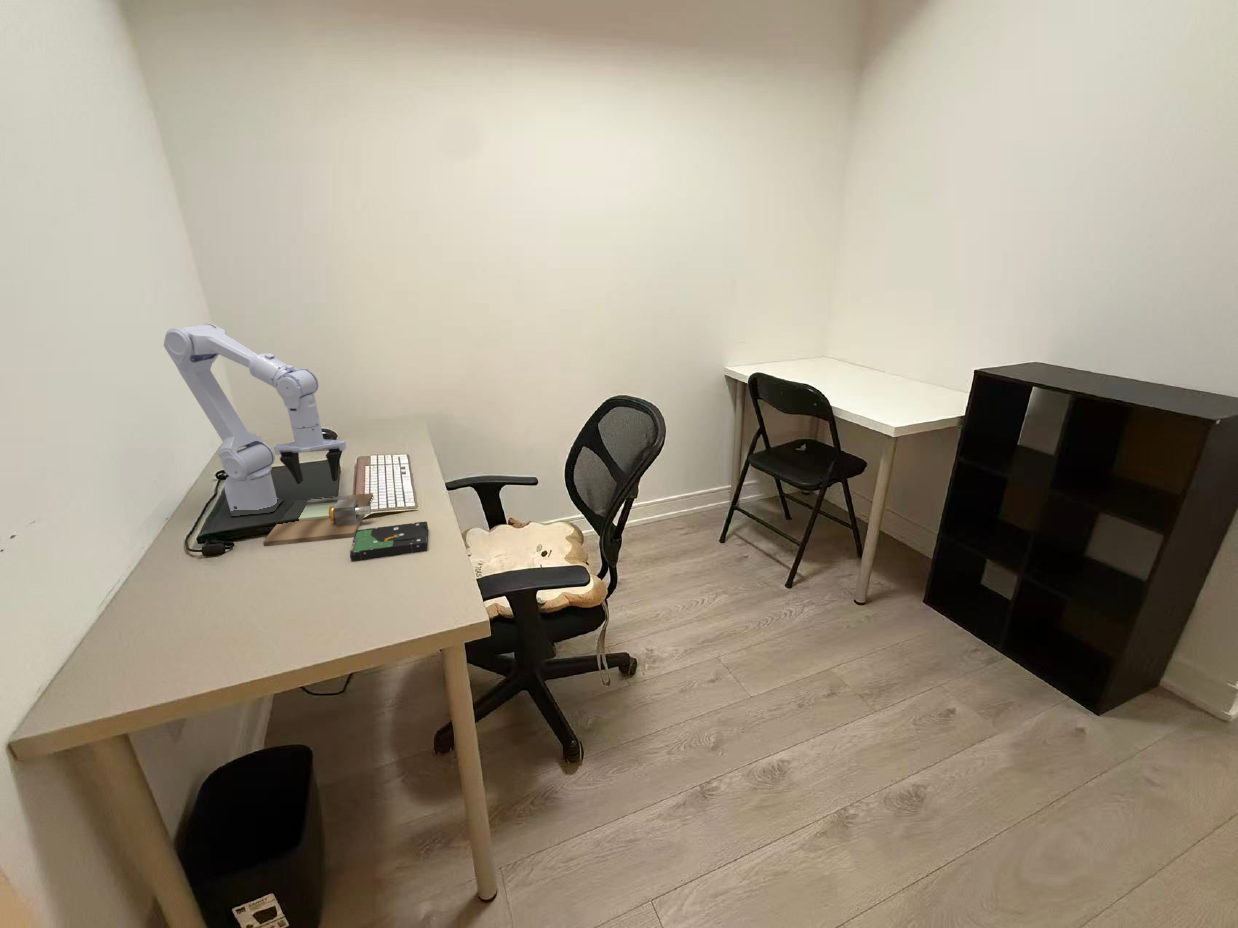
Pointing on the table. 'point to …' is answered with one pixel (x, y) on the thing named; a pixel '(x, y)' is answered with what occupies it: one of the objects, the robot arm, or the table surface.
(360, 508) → the pin
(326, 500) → the board
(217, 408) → the robot arm
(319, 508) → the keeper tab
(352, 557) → the disk drive
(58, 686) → the table surface
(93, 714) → the table surface
